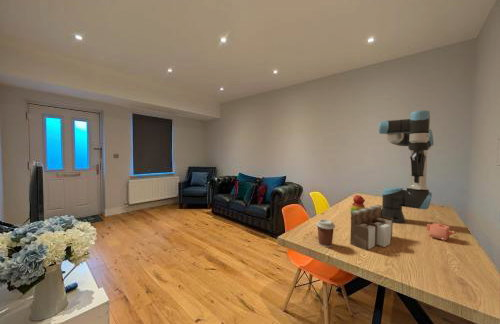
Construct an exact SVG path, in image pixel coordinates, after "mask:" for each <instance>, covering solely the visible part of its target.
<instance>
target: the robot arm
mask: <svg viewBox="0 0 500 324" xmlns="http://www.w3.org/2000/svg"><path fill="white" fill-rule="evenodd" d="M430 119H431V113H430V111H429V110H424V109H423V110H416V111H412V112H411V113H410V117H409V118H405V119H394V120H393V119H392V120H383V121H380V122H379V124H378V134H380V135H386V139H387V141H388V142H389V143H390V144H392V145H395V146H398V147H408V148H407V149H408V150H409V151H410V156H409V158H410V170H409V185H408V186H407V187H406V189H404V188H403V187H400V186H391V187H385V188H383V190H382V203H381V204H382V205H381V206H382V207H381V216H384V217H388V218H393V224H394V223H395V224H396V223H397V224H398V223H399V224H401V223H405V220H406V217H405V215H404V212H403V208H411V209H418V210H429V208H430V205H431V201H432V196H433V193H432V192H430V189H429V188H428V187H427V173H428V169H427V168H428V167H427V166H428V151H429V150H431V147H433V146H434V145H435V144H434V136H433V131H432V128H431V129H430V126H431V125H430V122H431V121H430Z"/></svg>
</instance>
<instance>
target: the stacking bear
mask: <svg viewBox="0 0 500 324" xmlns="http://www.w3.org/2000/svg"><path fill="white" fill-rule="evenodd" d="M352 198H353V201H352V202H353V203H351V205H350V213H351V212H352V211H356V210H360V209H363V208H366V207H365V204H364V203H365V201H366V200H365V199H364V197H363V196H362V195H358V194H356V195H355V196H354V197H352Z"/></svg>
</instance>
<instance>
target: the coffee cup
mask: <svg viewBox="0 0 500 324" xmlns="http://www.w3.org/2000/svg"><path fill="white" fill-rule="evenodd" d="M315 226H316V227H317V235H318V236H317V237H318V245H320V247H321V246H322V247H325V248H330V247H332V246H333V237H334V230H335V228H336V225H335V224H334V222H333V221H332V220H330V219H319V220H318V221H317V222H316V225H315Z"/></svg>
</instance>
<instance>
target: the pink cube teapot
mask: <svg viewBox="0 0 500 324" xmlns="http://www.w3.org/2000/svg"><path fill="white" fill-rule="evenodd" d="M450 229H451V228H450V225H445V224H442V223H435V222H433V223H432V224H430V223H427V224H426V231H429V237H430V238H432V239H438V240H439V239H440V240H441V241H442V242H446V241H447V240H448V239H449V238H450V236H452V235H456V234H457V232H456V231H455V230H452V231H450Z"/></svg>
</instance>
